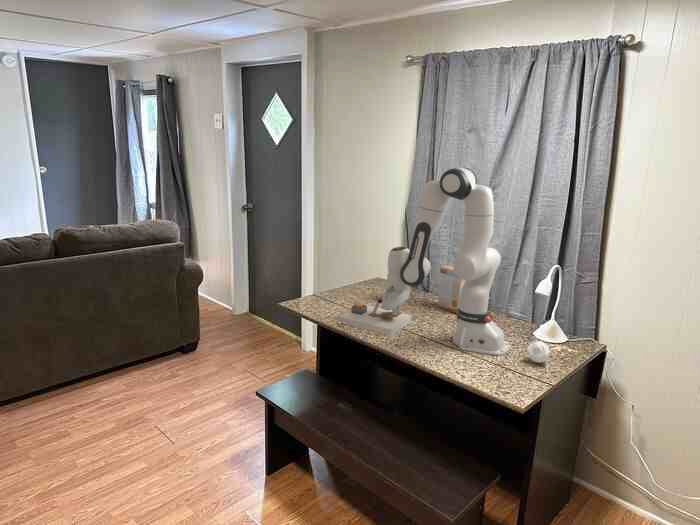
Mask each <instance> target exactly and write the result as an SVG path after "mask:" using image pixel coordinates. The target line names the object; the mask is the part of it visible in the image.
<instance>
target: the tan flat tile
mask: <svg viewBox="0 0 700 525" xmlns="http://www.w3.org/2000/svg"><path fill="white" fill-rule="evenodd" d="M401 313H402V312H401V311H399V312H398V313H397V314H392V312H382V313H381V314H379V315H378V318H387V317H397V316H399V315H400V314H401Z"/></svg>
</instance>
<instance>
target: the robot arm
mask: <svg viewBox="0 0 700 525" xmlns="http://www.w3.org/2000/svg"><path fill="white" fill-rule="evenodd" d="M477 183H478V178H477V175H476V174H475V172H474V171H473V170H471V169H470V168H468V167H462V166H461V167H459V166H458V167H453V168H450V169H449V168H448V169H447V170H445V172H444V173H443V174H442V175H441V176H440V179H439V180H437V179H435V180H430V181H429V180H428V181H427V182H426V183H425V185H424V187H423V189H422V193H421V195H420V198H419V201H418V205H417V210H416V218H415V224H414V225H415V226H414V232H413V236H412V237H413V238H412V241H411V246H410V248H408V247H406V246H397V247H393V248H392V249H390V251H389V252H388V255H387V256H388V257H387V276H386V288H387V289H386V291H384V293H383V296H382V302H381V309H384V310H388V311H389V310H390V311H392V314H397V313H398V312H400V308H401V306H402V305H401V304H402V303H404V302H406V301H407V300H408V299H409V298H410V295H411V288H414V287H419V286H420V285H421V284H422V283H423V282H424V280H425V279H426V277H427V276H428V275H429V274H430V272H431V270H432V266H431V262H430V260H429V259H428V258H427V257H426V254H427V250H428V245H429V243H430V241H431V239H432V237H433V236H434V234H435V233H436V232H437V231H438V229H439V228H440V227H441V224H442V222H443V221H444V217H445V215H446V214H445V213H446V210H447V206H448V202H449V200H450V199H451V198H454V199H457V200H460V201H463V202H464V213H463V214H464V215H463V216H464V218H463V233H462V238H461V243H460V244H461V245H460V248H459V251H458V254H457V255H456V257H455V259H454V261H453V263H452V266H453V271H454V273H455V275H456V276H457V277H458V278H459V279H461V280H466V281H465V283H464V285H463V287H462V289H461V294H460V307H459V308H458V313H457V314H456V317H457V324H456V328H455V332H454V334H453V338H452V342H453V343H454V344H455V345H456V346H458V347H459V349H461V350H462V351H469V352H475V353H481V354H486V355H491V356H498V357H499V356H500V357H501V356H503V355H505V354H507V353H508V352H509V350H510V346H511V345H510V344H511V343H510V342H509V341H507V340H505V339H506V338H505V333H504V330H502V328H500V327H499V326H498V325H497V324H496V323H495V322H494V321H493V320H492V319H493V312H490V311H489V298H490V292H491V289H492V288H491V287H492V285H493V283H494V279H495V276H496V272H497V270H498V268H499V267H500V265H501V262H502V261H501V260H502V259H501V258H502V257H501V255H500V253H499V252H498V250H497V249H496V248H493V247H489V244H490V241H491V240H492V237H493V235H494V224H495V222H494V221H495V220H494V219H495V205H494V204H495V202H494V194H493V190H492V189H491V188H490V187H488V186H486V185H483V184H477Z"/></svg>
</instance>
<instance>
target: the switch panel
mask: <svg viewBox="0 0 700 525" xmlns="http://www.w3.org/2000/svg"><path fill="white" fill-rule="evenodd" d="M374 308H375V306H372V305H368V304H363V307H362V308H358V307H356V303H355V304H353V305H352V306H351V308H350V310H349V311H347V312H345V313H343V314H341V315H340V316H339V317H338V323H339V322H342V323H345V324H348V325H347V326H349V325H352V326H351V327H353V326H355V327H354V328H357V327H359V328H358V329H361V328H362V329H363V330H365V329H366V331H369V330H370V331H369V332H373V331H374V333H377V334H381V335H386V336H390V337H392V336H393V335H394V334H396V333H397V332H399V331H400V330H401V329H402V328H404V327H406V325H408V324H410V323H411V322H412V315H411V314H407V313H402V312H401V314H400V315H399V316H397V317H387V318H378V315H379V314H381V313H382V312H392V310H389V311H388V310H384V309H383V308H382V307H378V309H377V311H376V313H375V314H373V313H372V311H373V310H374ZM345 324H344V325H345Z"/></svg>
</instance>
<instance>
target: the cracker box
mask: <svg viewBox="0 0 700 525" xmlns="http://www.w3.org/2000/svg"><path fill="white" fill-rule="evenodd" d="M439 270H440V272H439V282H438V284H439V285H438V298H437V307H439V308H441V309H444V310H446V311H449V312H452V313H454V314H456V315H457V313H458V308H459V307H460V294H461V289H462V287H463V285H464V283H465V281H466V280H461V279H459V278H458V277H457V276H456V275H455V273H454V271H453V265H450V264H446V265H445V264H444V265H441V266H440V268H439Z"/></svg>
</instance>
